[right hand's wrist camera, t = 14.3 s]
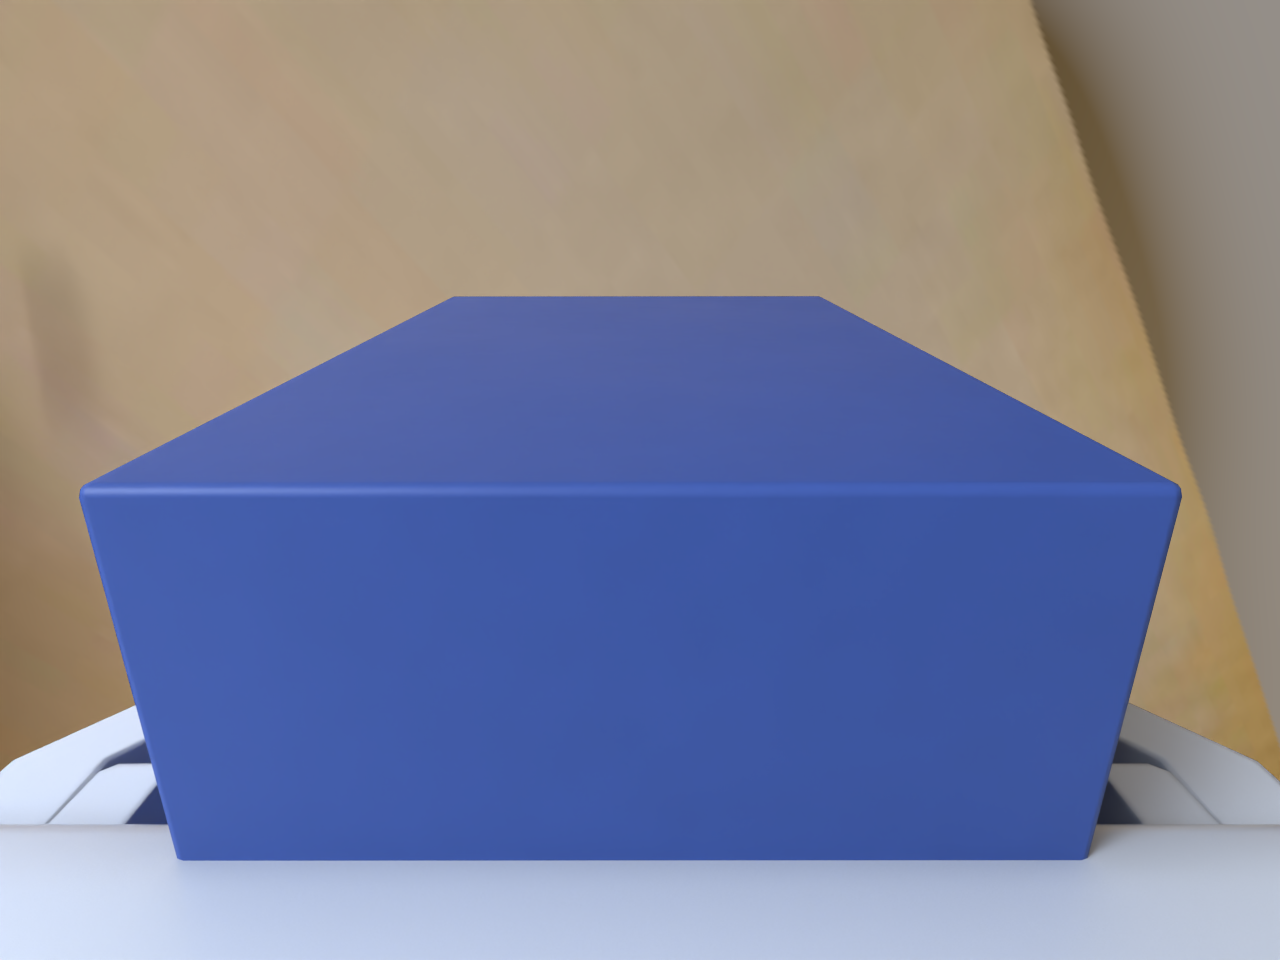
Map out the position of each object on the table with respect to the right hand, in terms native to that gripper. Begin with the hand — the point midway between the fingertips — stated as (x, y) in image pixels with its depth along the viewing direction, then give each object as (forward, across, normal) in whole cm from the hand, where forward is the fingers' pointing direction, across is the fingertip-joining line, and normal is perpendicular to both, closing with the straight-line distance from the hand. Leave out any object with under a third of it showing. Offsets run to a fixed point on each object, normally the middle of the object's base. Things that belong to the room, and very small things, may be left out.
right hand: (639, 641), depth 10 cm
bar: (+3, 0, -7) cm, 7 cm away
